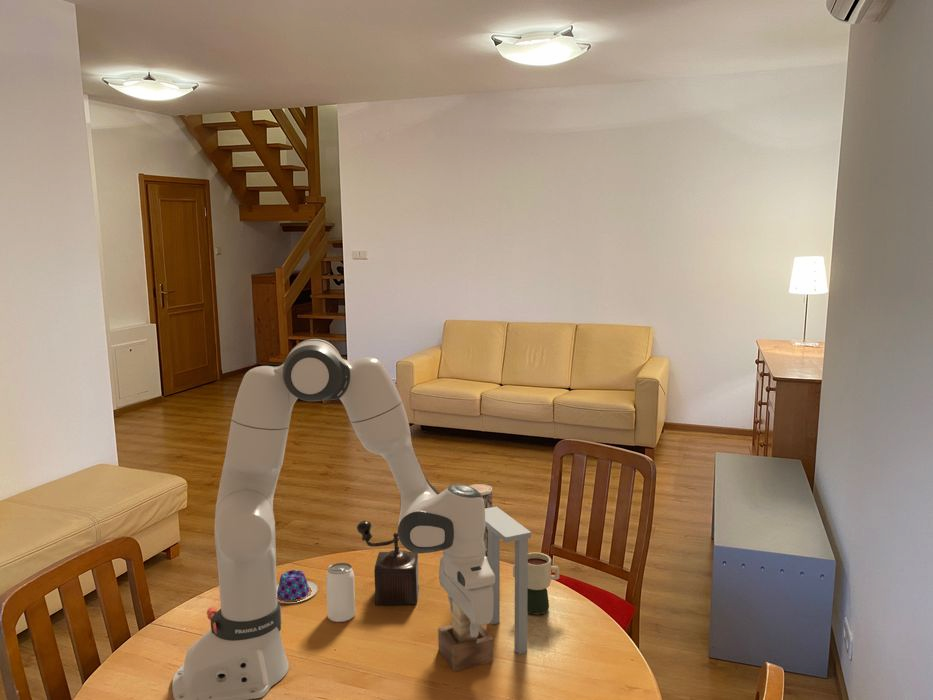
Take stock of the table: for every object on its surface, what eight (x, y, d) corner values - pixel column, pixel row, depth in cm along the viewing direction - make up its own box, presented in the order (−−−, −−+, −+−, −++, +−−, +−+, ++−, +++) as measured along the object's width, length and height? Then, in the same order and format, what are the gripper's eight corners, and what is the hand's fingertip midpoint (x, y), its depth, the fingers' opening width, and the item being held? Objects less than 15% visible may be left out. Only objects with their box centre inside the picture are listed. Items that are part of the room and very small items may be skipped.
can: (349, 624, 162) (347, 575, 160) (323, 621, 163) (321, 573, 161) (359, 610, 168) (357, 563, 166) (333, 607, 169) (332, 560, 167)
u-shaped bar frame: (505, 659, 148) (505, 537, 144) (473, 622, 162) (472, 510, 158) (530, 652, 150) (531, 532, 146) (496, 617, 164) (496, 506, 160)
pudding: (277, 582, 183) (276, 563, 182) (322, 582, 182) (321, 564, 182) (262, 605, 171) (261, 585, 170) (310, 606, 170) (309, 586, 170)
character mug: (557, 603, 171) (558, 552, 169) (559, 618, 164) (560, 566, 162) (513, 601, 172) (513, 551, 170) (512, 616, 165) (513, 564, 163)
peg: (460, 662, 147) (460, 609, 145) (453, 652, 150) (452, 600, 149) (477, 658, 148) (477, 605, 147) (469, 648, 152) (469, 596, 150)
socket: (454, 671, 144) (454, 649, 143) (438, 649, 151) (438, 628, 151) (493, 661, 147) (493, 639, 146) (475, 639, 155) (475, 618, 154)
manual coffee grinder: (419, 583, 181) (418, 517, 178) (417, 605, 170) (415, 535, 167) (359, 584, 181) (357, 518, 178) (353, 606, 170) (350, 536, 167)
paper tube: (460, 580, 183) (460, 488, 179) (479, 572, 187) (479, 482, 183) (478, 589, 178) (478, 495, 174) (497, 580, 182) (497, 488, 178)
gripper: (431, 545, 154) (432, 604, 156) (470, 586, 136) (470, 652, 138) (458, 540, 157) (458, 598, 159) (499, 580, 138) (498, 644, 140)
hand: (463, 623), depth 148 cm, fingers open, 8 cm apart
